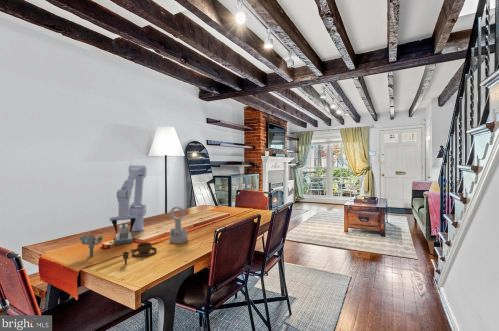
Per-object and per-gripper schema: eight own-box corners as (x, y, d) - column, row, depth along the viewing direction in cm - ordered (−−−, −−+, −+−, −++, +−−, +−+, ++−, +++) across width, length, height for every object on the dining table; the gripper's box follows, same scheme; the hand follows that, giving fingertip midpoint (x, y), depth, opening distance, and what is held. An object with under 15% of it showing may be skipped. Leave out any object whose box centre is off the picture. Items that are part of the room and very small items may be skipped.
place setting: (164, 255, 131) (164, 243, 130) (124, 267, 115) (124, 254, 115) (147, 247, 142) (147, 236, 142) (109, 257, 127) (109, 245, 127)
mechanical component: (99, 257, 124) (99, 237, 124) (79, 257, 125) (79, 237, 124) (103, 255, 127) (103, 235, 127) (83, 254, 128) (83, 235, 127)
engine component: (183, 243, 147) (189, 238, 157) (184, 208, 147) (189, 205, 157) (165, 242, 148) (172, 237, 158) (166, 207, 148) (172, 204, 158)
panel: (115, 237, 155) (115, 233, 155) (131, 235, 159) (131, 231, 159) (115, 244, 142) (115, 240, 142) (132, 242, 147) (132, 238, 147)
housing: (119, 234, 153) (119, 223, 153) (127, 233, 155) (127, 223, 155) (119, 238, 146) (119, 227, 146) (128, 237, 148) (128, 226, 148)
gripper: (109, 211, 143) (109, 235, 144) (137, 209, 150) (137, 232, 150) (110, 209, 149) (109, 232, 150) (136, 207, 156) (136, 229, 157)
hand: (123, 232), depth 151 cm, fingers open, 7 cm apart
